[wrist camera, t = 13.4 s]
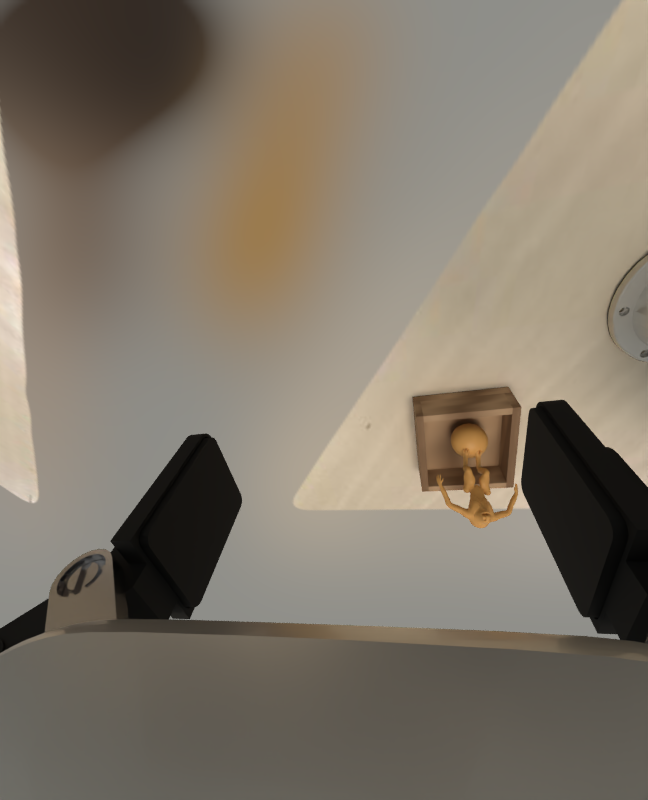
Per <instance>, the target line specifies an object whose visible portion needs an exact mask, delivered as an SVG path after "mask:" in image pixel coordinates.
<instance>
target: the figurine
mask: <svg viewBox="0 0 648 800" xmlns="http://www.w3.org/2000/svg"><path fill="white" fill-rule="evenodd" d="M451 445H452V447H453V449H454V450H455V452H456V453H457V454H459V455H460V456H462V457H463V470H464V472H465V473H464V486H463V490H464V492H466V493H469V492H470V493H471V495H470V503H469V508H468V509H465V508H462V507H460V506H458V505H455V504H452V503H451V501H450V499H449V497H448V495H447V492H446V490H445V488H444V487H443V485H442V482H443V479H442V480H441V474H440V478H439V475H438V478H437V476H436V479H437V483H438V485H439V487H440V490H441V492H442V495H443V497H444V499H445V502H446V505H447V506H448V507H449V508H451V509H452V510H454V511H456V512H458V513H460V514H462V515H463V516H464V517H466V518H468V519H469V520H470V522H471V524H472V525H474V526H475V527H477V528H484V527H486V526H487V525H488V524H489V523H490V522H494V521H497V520H498V519H500V518H504V517H507V516H509V515H510V514H511V513H512V509H513V506H514V504H515V502H516V498H517V495H518V489H517V484H515V487H514V490H515V493H514V495H513V496H512V498H511V500H510V503H509V505H508V508H507V510H506V511H500V512H496V513H494V512H493V509H492V506H491V505H490V503H489V502H488V501H487V499H486V498H485V496H484V494H485V495H490V494H491V492H490V488H489V481H490V478H489V474H490V472H489V470H488V469H486V468H482V467H481V455H482V454H483V453H484V452H485V450H486V448H487V446H488V437H487V435H486V433H485V431H484V430H483V429H482V428H481V427H479V426H477V425H475V424H470V423H467V424H462V425H460V426H458V427H457V428H456V429H455V430H454V431H453V433H452V435H451ZM475 457H476V467H477V470H478V473H480V474H482V475H481V476H480V478H479V485H480V486H478V485H475V486H474V484H475V477H474V475H473V473H472V470H471V468H470V467H469V466H468V458H475Z"/></svg>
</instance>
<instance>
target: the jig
mask: <svg viewBox="0 0 648 800" xmlns="http://www.w3.org/2000/svg"><path fill="white" fill-rule="evenodd" d="M413 407H414V418H415V430H416V441H417V452H418V463H419V472H420V479H421V486H422V492H423V491H441V490H440V487H439V485H438V483H437V479H436V476H437V478H438V475H439V478H440V474H441V480H442V479H443V482H442V485H443V487H444V488H445V490H463V486H464V473H465V472H464V470H463V457H462V456H460V455H459V454H457V453H456V452H455V450H454V449H453V447H452V445H451V435H452V433H453V431H454V430H455V429H456V428H457V427H458V426H460V425H462V424H467V423H470V424H475V425H477V426H479V427H481V428H482V429H483V430H484V431H485V433H486V435H487V437H488V446H487V448H486V450H485V452H484V453H483V454H482V455H481V467H482V468H486V469H488V470H489V472H490V474H489V478H490V481H489V488H508V487H513V485H514V475H515V465H516V455H517V445H518V435H519V425H520V415H521V406H520V404H519V403H518V401H517V400H516V398H515V397H514V395H513V393H512V392H511V390H510V389H509V387H503V388H493V389H484V390H474V391H465V392H455V393H446V394H436V395H427V396H417V397H413ZM468 466H469V467H470V468H471V470H472V473H473V475H474V477H475V484H474V486H475V485H478V486H480V485H479V478H480V476H481V475H482V474H480V473H478V470H477V467H476V457H475V458H468Z"/></svg>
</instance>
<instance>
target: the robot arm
mask: <svg viewBox="0 0 648 800" xmlns="http://www.w3.org/2000/svg"><path fill="white" fill-rule="evenodd" d="M608 327H609V332H610V335H611V337H612V339H613V341H614V343H615V344H616V345H617V346H618V347H619V348H620V349H621V350H622V351H623V352H625V353H627V354H628V355H629V356H631V357H633V358H635V359H637V360H639V361H643V362H648V255H647V256H645V257H644V258H643V259H642V260H641V261H639V262H638V263H637V264H636V266H635V267H634V268H633V269H632V270H631V271H630V272H629V273H628V274H627V276H626V277H625V278H624V280H623V281H622V283H621V284H620V286H619V287H618V289H617V291H616V293H615V295H614V297H613V299H612V302H611V305H610V309H609V313H608ZM521 485H522V490H523V493H524V496H525V498H526V500H527V502H528V504H529V506H530V508H531V511H532V513H533V515H534V517H535V519H536V521H537V523H538V525H539V528H540V530H541V532H542V534H543V536H544V538H545V540H546V543H547V545H548V547H549V549H550V551H551V553H552V555H553V557H554V559H555V561H556V564H557V566H558V568H559V570H560V572H561V574H562V577H563V579H564V581H565V583H566V585H567V587H568V589H569V592H570V594H571V596H572V598H573V600H574V602H575V604H576V606H577V608H578V610H579V612H580V614H581V615H582V616H583V617H590V619H591V621H592V623H593V625H594V627H595V629H596V631H597V633H601V634H618V636H619V638H620V640H617V639H608V638H598V637H587V636H573V635H572V636H571V635H555V634H537V633H520V632H503V631H479V630H455V629H431V628H407V627H383V626H354V625H327V624H299V623H271V622H238V621H237V622H236V621H203V620H169V617H170V616H171V617H172V618H176V619H190V617H191V615H192V612H193V610H194V608H195V607H196V606H198V605H199V604H200V602H201V600H202V598H203V595H204V593H205V591H206V588H207V586H208V584H209V581H210V579H211V576H212V574H213V572H214V569H215V567H216V564H217V562H218V560H219V557H220V555H221V553H222V550H223V548H224V545H225V543H226V541H227V538H228V536H229V533H230V531H231V529H232V526H233V524H234V522H235V519H236V517H237V514H238V512H239V509H240V507H241V504H242V497H241V494H240V492H239V489H238V487H237V485H236V483H235V481H234V478H233V477H232V474H231V472H230V470H229V468H228V466H227V463H226V461H225V459H224V457H223V455H222V452H221V450H220V448H219V446H218V444H217V442H216V440H215V439H214V438H211V436H210V435H209V434H197V435H190V436H188V437H187V438H186V440H185V441H184V443H183V444H182V445H181V447H180V448H179V449H178V451H177V452H176V453H175V455H174V456H173V457H172V459H171V460H170V461H169V463H168V464H167V466H166V467H165V468H164V469H163V471H162V472H161V474H160V475H159V476H158V478H157V479H156V480H155V482H154V483H153V484H152V486H151V487H150V488H149V490H148V491H147V492H146V494H145V495H144V496H143V498H142V499H141V501H140V502H139V503H138V505H137V506H136V507H135V509H134V510H133V511H132V513H131V514H130V515H129V517H128V518H127V519H126V521H125V522H124V523H123V525H122V526H121V527H120V529H119V530H118V531H117V533H116V534H115V536H114V537H113V538H112V540H111V543H112V544H113V545H114V546H115V547H114V549H113V551H112V552H109V551H108V550H106V549H97V550H92V551H89V552H87V553H85V554H82V555H81V556H79V557H78V558H76V559H75V560H73V561H72V562H71V563H70V564H68V565H67V566H66V567H65V568H64V569H63V570H62V571H61V572H60V574H59V575H58V576H57V577H56V579H55V581H54V582H53V584H52V586H51V589H50V592H49V599H47V600H45V601H44V602H42V603H41V604H39V605H37V606H36V607H34V608H33V609H31V610H29V611H28V612H26V613H25V614H23V615H21V616H20V617H18V618H17V619H15V620H14V621H12V622H10V623H9V624H7V625H5V626H4V627H2V628H0V800H648V487H647V486H646V485H645V484H644V483H643V481H642V480H641V479H640V478H639V477H638V476H637V475H636V474H635V472H634V471H633V470H632V469H631V468H630V467H629V466H628V465H627V463H626V462H625V461H624V460H623V459H622V458H621V457H620V455H619V454H618V453H617V452H615V451H614V450H613V449H611V448H609V447H605V446H604V445H603V444H602V443H601V441H600V440H599V439H598V438H597V437H596V436H595V434H594V433H593V432H592V431H591V430H590V429H589V428H588V426H587V425H586V424H585V423H584V422H583V421H582V419H581V418H580V417H579V416H578V415H577V414H576V412H575V411H574V410H573V409H572V408H571V407H570V405H569V404H568V403H567V402H566V401H565V400H556V401H545V402H539V403H538V404H537V406H536V408H531V409H530V411H529V417H528V426H527V435H526V443H525V452H524V461H523V469H522V478H521Z"/></svg>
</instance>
